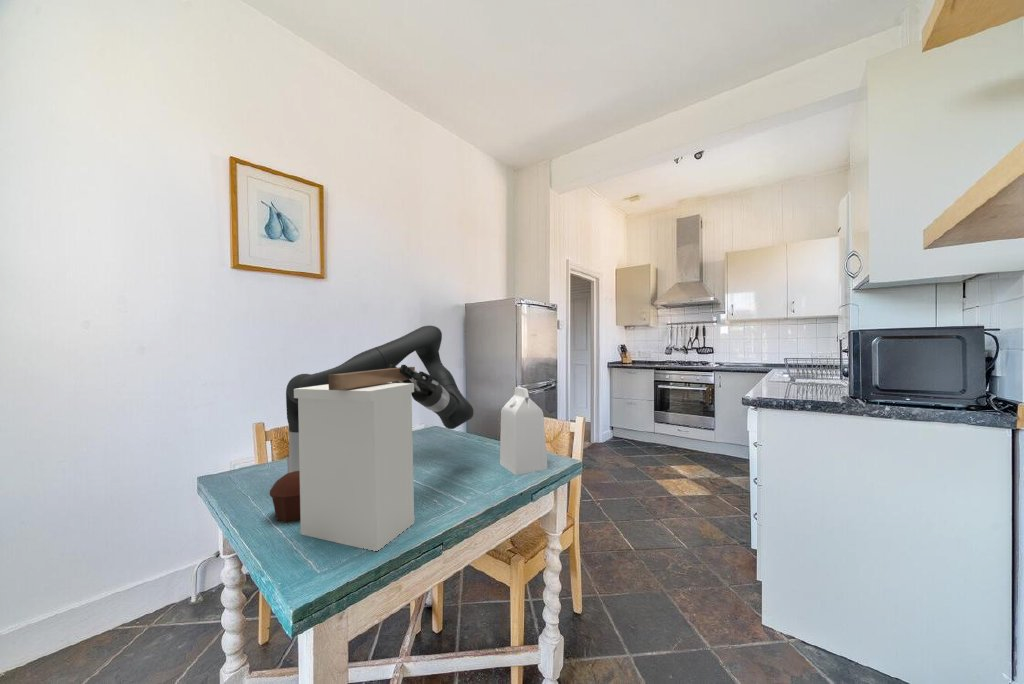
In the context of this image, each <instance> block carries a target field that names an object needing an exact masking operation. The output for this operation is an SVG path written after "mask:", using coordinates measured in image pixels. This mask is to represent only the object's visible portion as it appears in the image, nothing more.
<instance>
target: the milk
mask: <svg viewBox="0 0 1024 684" xmlns="http://www.w3.org/2000/svg"><path fill="white" fill-rule="evenodd" d="M544 417H545V416H544V411H543V409H542V408H541V407H540V406H538V405H537V403H535V401H533V400H532V399H531V397H530V395H529V391H528V388H526V387H520V386H518V387H517V386H516V387H515V389H514V393H513V396H512V397H511V398H510V399H509V400H508V401H507V402H506V403H505V404H504V406H502V408H501V411H500V442H499V443H500V444H499V445H500V448H499V449H500V450H499V451H500V452H499V465H500V466H502V467H503V468H504V469H506V470H508V471H509V472H510V473H512V474H513V475H515V476H518V475H523V474H528V473H534V472H539V471H544V470H548V468H549V467H548V457H547V456H548V454H547V445H546V444H547V443H546V442H547V441H546V431H545V419H544Z"/></svg>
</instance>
